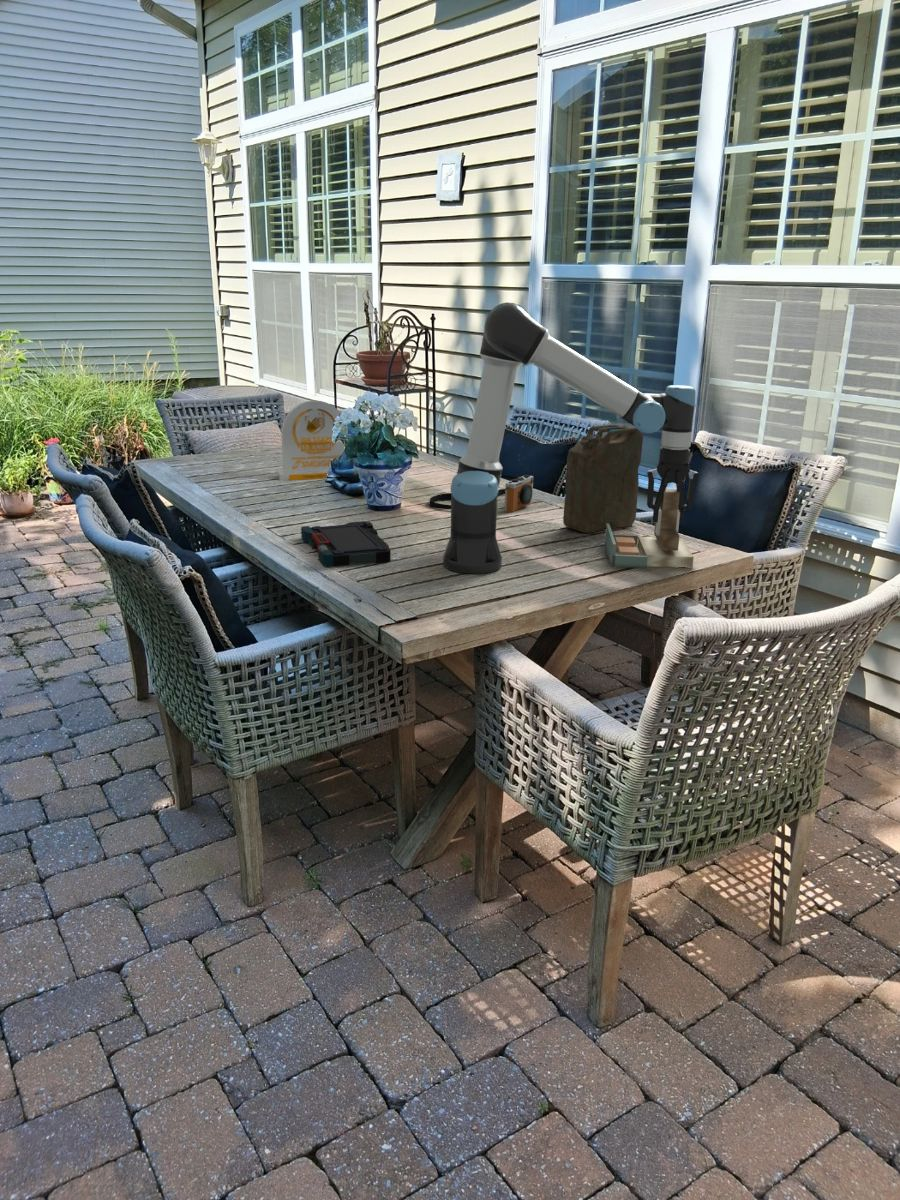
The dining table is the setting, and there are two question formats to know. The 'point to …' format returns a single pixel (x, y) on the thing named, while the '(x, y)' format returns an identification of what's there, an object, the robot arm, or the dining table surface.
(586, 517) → the container
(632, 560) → the box
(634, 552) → the tile front
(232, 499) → the dining table surface
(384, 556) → the electronic device
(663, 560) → the beige slotted plate
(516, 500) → the camera
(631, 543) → the tile back
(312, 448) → the award
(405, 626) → the dining table surface
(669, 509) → the t-shaped wooden block
